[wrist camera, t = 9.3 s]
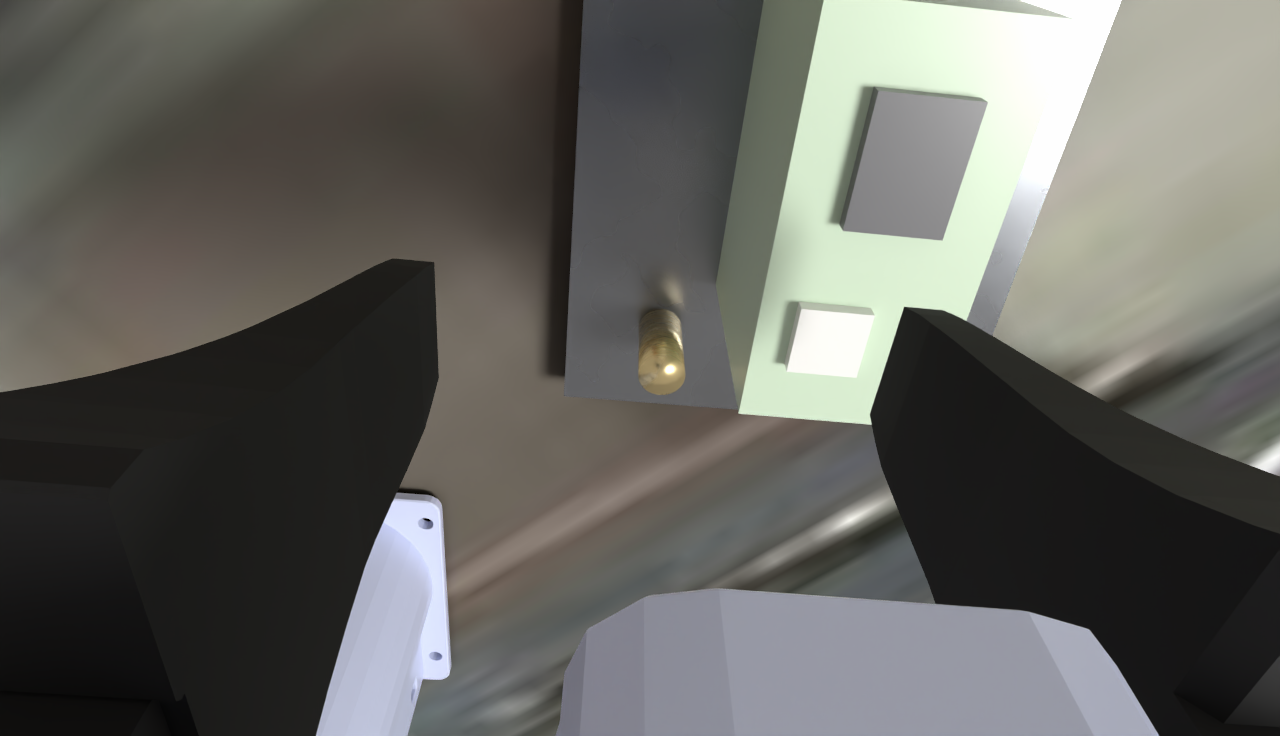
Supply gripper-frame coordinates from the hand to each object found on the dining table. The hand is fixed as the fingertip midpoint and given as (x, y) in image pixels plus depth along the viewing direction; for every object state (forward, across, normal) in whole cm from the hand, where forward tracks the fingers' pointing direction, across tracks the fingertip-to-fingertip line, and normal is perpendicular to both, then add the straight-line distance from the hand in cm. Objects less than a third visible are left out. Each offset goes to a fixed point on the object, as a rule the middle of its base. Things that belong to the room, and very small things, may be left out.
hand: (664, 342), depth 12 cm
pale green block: (+9, -4, -1) cm, 10 cm away
